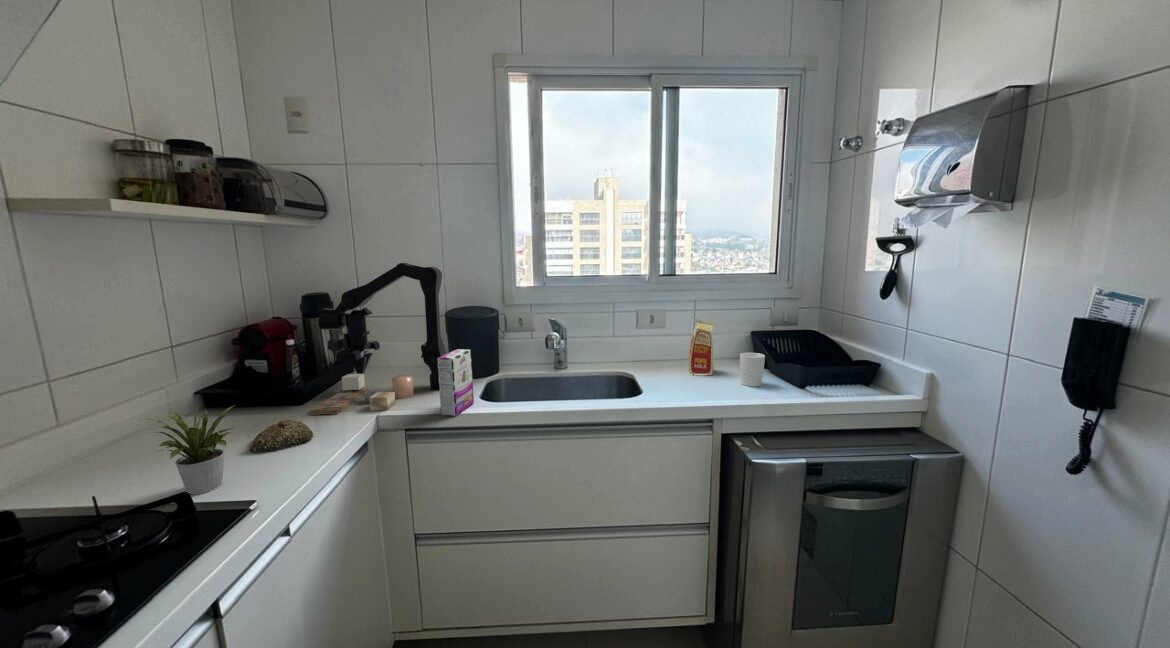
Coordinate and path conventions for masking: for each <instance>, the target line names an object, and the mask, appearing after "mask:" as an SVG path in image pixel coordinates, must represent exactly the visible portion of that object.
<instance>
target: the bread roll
mask: <svg viewBox="0 0 1170 648" xmlns="http://www.w3.org/2000/svg"><path fill="white" fill-rule="evenodd" d="M313 434H314V433H313V431H312V430H311V428H310V427H309V426H308V425H307V424H306V423H303V421H298V420H293V419H291V420H289V419H287V420H286V419H285V420H280V421H278V422H277V423H274V424H271V425H268V426H267V427H266V428H265V429H264V430H263V431H261V432H259V433H258V434H257V435H256V437H254V439H253V440H252V444H251V445H250V447H249V452H250V453H253V454H257V453H260V454H261V453H266V452H273V451H279V450H283V449H289V448H292V446H293V447H296V445H297V446H300V445H304V444H307V443H309V442H310V441H312V438H313V437H314V435H313Z"/></svg>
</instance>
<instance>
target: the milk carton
mask: <svg viewBox="0 0 1170 648" xmlns="http://www.w3.org/2000/svg"><path fill="white" fill-rule="evenodd" d="M715 325H716V322H710V321H709V322H708V321H705V320H701V319H698V318H695V327H694V329H693V333H692V336H691V340H690V345H689V346H690V347H689V352H688V373H689V374H707V375H712V376H713V374H714V343H713V333H712V332H713V328H714V326H715ZM712 373H713V374H712ZM689 374H688V375H689Z"/></svg>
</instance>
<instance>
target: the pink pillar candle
mask: <svg viewBox="0 0 1170 648" xmlns="http://www.w3.org/2000/svg"><path fill="white" fill-rule="evenodd" d="M391 380H392V381H391V382H392V383H391V384H392V392H395V399H397V398H403V399H408V398H407V397H409V398H411V396H412V397H413V396H414V395H415V393H414V392H415V390H414V389H415V388H414V376H413V375H412V374H399V375H395V376H392V378H391Z"/></svg>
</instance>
